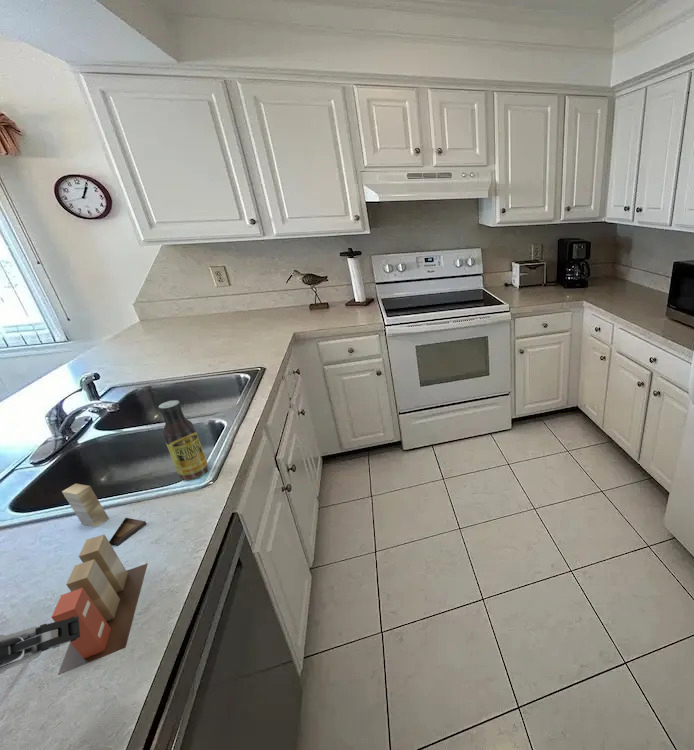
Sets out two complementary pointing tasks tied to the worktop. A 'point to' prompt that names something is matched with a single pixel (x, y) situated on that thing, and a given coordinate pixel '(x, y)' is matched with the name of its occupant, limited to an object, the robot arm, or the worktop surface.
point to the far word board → (97, 512)
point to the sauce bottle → (182, 442)
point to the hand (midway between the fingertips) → (26, 648)
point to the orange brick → (84, 622)
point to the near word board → (114, 624)
